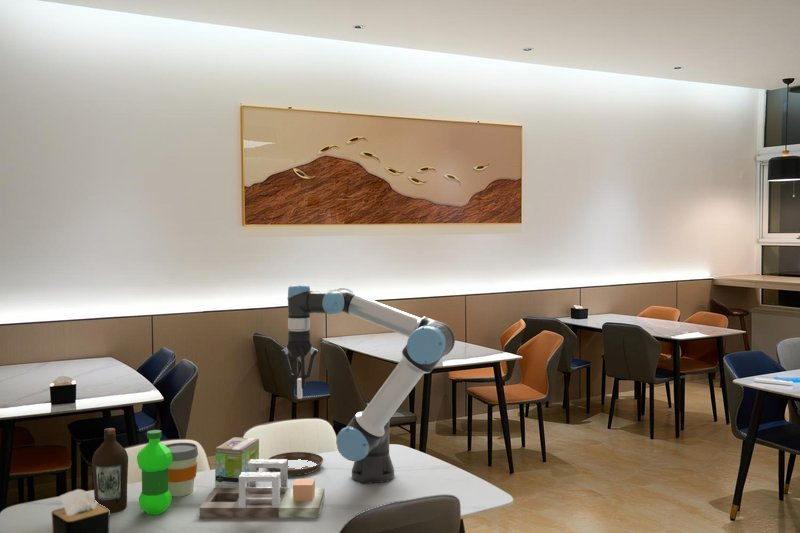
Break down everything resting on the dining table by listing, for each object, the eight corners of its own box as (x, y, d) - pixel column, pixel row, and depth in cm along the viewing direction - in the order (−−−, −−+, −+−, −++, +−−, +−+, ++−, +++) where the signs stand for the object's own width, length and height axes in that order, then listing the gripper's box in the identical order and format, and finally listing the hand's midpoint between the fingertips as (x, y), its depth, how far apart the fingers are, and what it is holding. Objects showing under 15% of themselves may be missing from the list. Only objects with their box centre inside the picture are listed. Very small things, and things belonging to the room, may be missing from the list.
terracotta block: (314, 494, 241) (314, 478, 241) (312, 501, 235) (312, 485, 235) (295, 494, 241) (295, 478, 241) (293, 501, 235) (292, 485, 235)
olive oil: (95, 503, 242) (94, 426, 241) (131, 500, 244) (129, 424, 243) (90, 515, 231) (88, 434, 230) (126, 512, 234) (125, 432, 233)
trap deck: (324, 497, 247) (324, 487, 247) (318, 517, 229) (318, 507, 229) (214, 497, 247) (214, 488, 247) (199, 517, 229) (199, 507, 229)
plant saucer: (320, 477, 268) (319, 468, 268) (261, 477, 268) (261, 468, 268) (326, 460, 289) (326, 451, 288) (272, 460, 289) (272, 451, 289)
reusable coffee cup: (206, 488, 256) (205, 444, 255) (181, 500, 244) (180, 454, 244) (177, 483, 261) (176, 440, 260) (151, 495, 249) (150, 450, 249)
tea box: (242, 493, 251) (242, 449, 250) (214, 491, 253) (213, 447, 252) (259, 479, 266) (259, 437, 265) (233, 477, 268) (232, 436, 267)
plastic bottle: (139, 519, 228) (138, 437, 227) (137, 508, 237) (135, 429, 236) (174, 514, 232) (173, 434, 231) (170, 503, 241) (169, 426, 240)
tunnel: (287, 487, 247) (287, 459, 247) (278, 507, 229) (278, 476, 229) (250, 487, 247) (250, 459, 247) (239, 507, 229) (238, 476, 229)
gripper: (319, 328, 265) (319, 395, 266) (281, 328, 264) (282, 395, 265) (317, 331, 257) (317, 399, 258) (278, 331, 257) (279, 400, 258)
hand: (299, 397), depth 262 cm, fingers closed
